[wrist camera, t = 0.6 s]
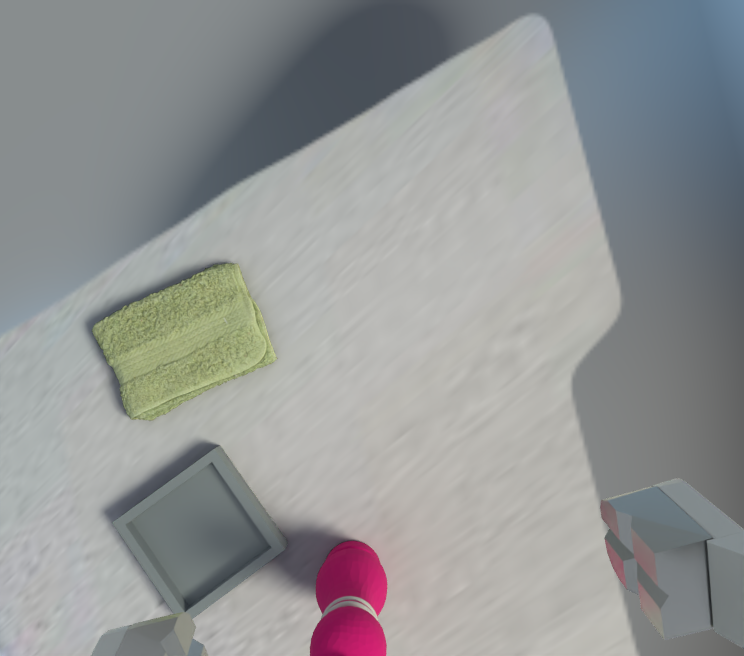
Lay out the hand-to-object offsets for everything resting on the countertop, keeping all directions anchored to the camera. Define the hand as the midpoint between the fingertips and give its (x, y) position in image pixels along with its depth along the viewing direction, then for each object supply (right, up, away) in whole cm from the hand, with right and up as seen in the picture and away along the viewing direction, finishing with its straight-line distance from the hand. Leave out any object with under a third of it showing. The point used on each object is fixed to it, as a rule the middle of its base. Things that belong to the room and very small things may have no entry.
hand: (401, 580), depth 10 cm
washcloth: (-21, +3, +48) cm, 53 cm away
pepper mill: (-3, -22, +46) cm, 51 cm away
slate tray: (-19, -17, +46) cm, 53 cm away
